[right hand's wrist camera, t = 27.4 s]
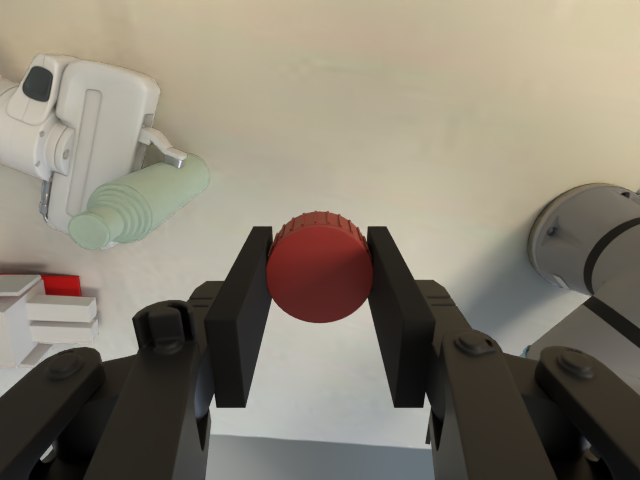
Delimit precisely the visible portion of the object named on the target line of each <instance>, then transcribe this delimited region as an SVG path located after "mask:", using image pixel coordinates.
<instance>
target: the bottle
mask: <svg viewBox="0 0 640 480" xmlns="http://www.w3.org/2000/svg"><path fill="white" fill-rule="evenodd" d="M186 154H187V158H186V161H185V164H184V167H182V168H176V167H174V166H173V165H172V164H171V165H169V164H166V163H164V160H163V161H161V162H158V163H156V164H153V165H151V166H148V167H146V168H143V169H140V170H138V171H135V172H133V173H130V174H128V175H125V176H123V177H120V178H118V179H115V180H112V181H110V182H107V183H105V184H103V185H100V186H99V187H98V188H96V189H95V190H94V192H93V193H92V194H91V195H90V197H89V199H88V202H87V207H86V211H83V212H81V213H78V214H76V215H74V216H73V217H72V218H71V219H70V221H69V224H68V232H69V235H70V236H71V238H72V239H73V240H74V242H75V243H77V244H78V245H79V246H81V247H83V248H85V249H90V250H95V249H101V248H103V247H105V246H106V245H108V243H109V242H110V241H111V242H117V243H131V242H135V241H139V240H141V239H143V238H144V237H146V236H147V235H148V234H149V233H151V232H152V231H153V230H154V229H156V228H157V227H158V226H159V225H161V224H162V223H163V222H164V221H166V220H167V219H168V218H169V217H171V216H172V215H173V214H175V213H176V212H177V211H178V210H180V209H181V208H182V207H183V206H185V205H186V204H187V203H188V202H190V201H191V200H192V199H193V198H195V197H196V196H197V195H198V194H200V193H201V192H202V191H203V190H205V188H206V187H207V186H208V184H209V180H210V173H209V169H208V167H207V165H206V164H205V162H204V161H203V160H202V159H201V158H199V157H198V156H196V155H193V154H190V153H186Z"/></svg>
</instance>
